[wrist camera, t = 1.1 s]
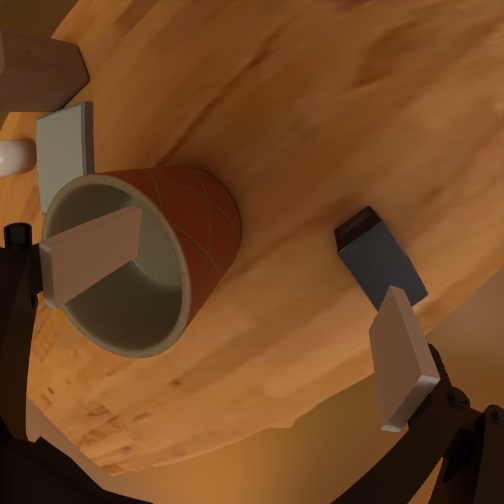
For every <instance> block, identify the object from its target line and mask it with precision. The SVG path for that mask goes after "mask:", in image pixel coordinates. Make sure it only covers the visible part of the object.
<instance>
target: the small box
mask: <svg viewBox="0 0 504 504" xmlns="http://www.w3.org/2000/svg"><path fill="white" fill-rule="evenodd" d="M334 234H335V237H336V243H337V254H338V256H339V257H340V259H341V260H342V261H343V263H344V264H345V266H346V267H347V269H348V270H349V271H350V273H351V274H352V276H353V277H354V278H355V280H356V281H357V283H358V284H359V286H360V287H361V288H362V290H363V291H364V293H365V294H366V296H367V297H368V298H369V300H370V301H371V303H372V304H373V306H374V307H375V309H376V310H377V312H378V311H379V309H380V306H381V304H382V302H383V300H384V298H385V295H386V293H387V291H388V289H389V286H390V285H391V286H394V287H398V288H401V289H404V292H405V294H406V296H407V298H408V300H409V302H410V305H411V307H412V306H414V305H415V304H417V303H418V302H419V301H421V300H422V299H424V298H425V297H426V296H428V292H427V290H426V288H425V286H424V285H423V283H422V281H421V279H420V277H419V275H418V273H417V272H416V270H415V268H414V266H413V264H412V263H411V261H410V259H409V257H408V256H407V254H406V252H405V250H404V249H403V247H402V246H401V244H400V243H399V241H398V240H397V238H396V237H395V235H394V234H393V232H392V231H391V230H390V228H389V227H388V225H387V224H386V223H385V222H384V221H383V219H382V218H381V217H380V216H379V215H378V214H377V213H376V212H375V211H374V210H373V209H372V208H371V207H370V206H368V207H366V208H365V209H364V210H362V211H361V212H359V213H358V214H357V215H355V216H354V217H352V218H351V219H350V220H348V221H347V222H346V223H344V224H343V225H341V226H340V227H339V228H337V229H336V230H335V231H334Z"/></svg>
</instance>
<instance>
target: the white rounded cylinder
mask: <svg viewBox="0 0 504 504" xmlns="http://www.w3.org/2000/svg"><path fill="white" fill-rule="evenodd" d="M36 162H37V147H36V143H35V142H34V140H33V139H30V138H29V139H17V140H7V141H0V177H3V176H7V175H12V174H18V173H23V172H28V171H31V170H32V169H33V168H34V167H35V165H36Z"/></svg>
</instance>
